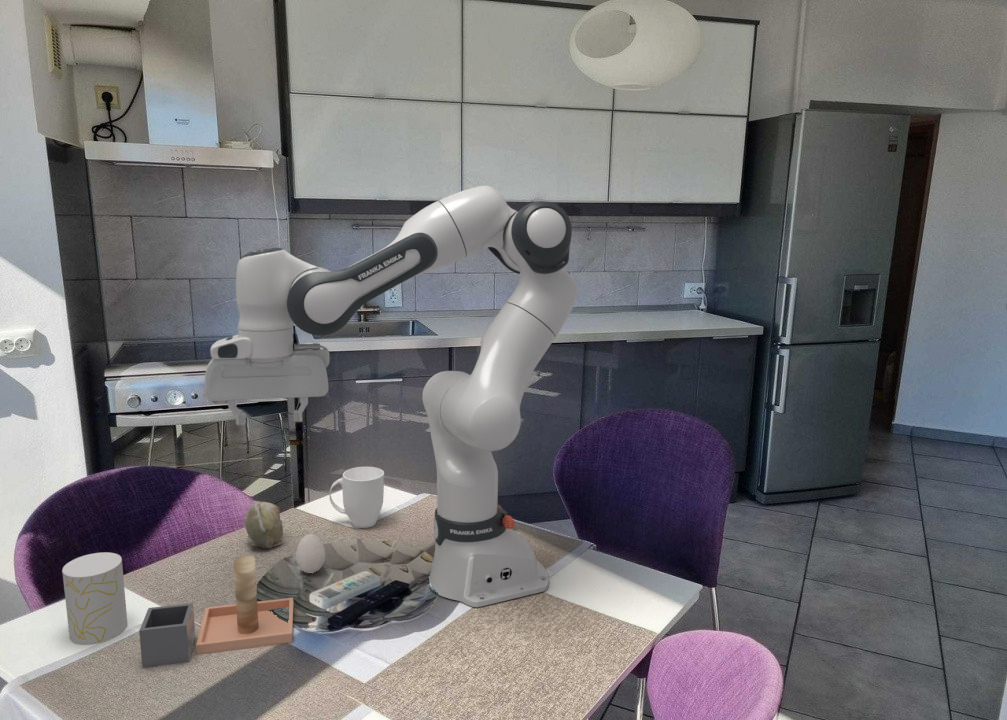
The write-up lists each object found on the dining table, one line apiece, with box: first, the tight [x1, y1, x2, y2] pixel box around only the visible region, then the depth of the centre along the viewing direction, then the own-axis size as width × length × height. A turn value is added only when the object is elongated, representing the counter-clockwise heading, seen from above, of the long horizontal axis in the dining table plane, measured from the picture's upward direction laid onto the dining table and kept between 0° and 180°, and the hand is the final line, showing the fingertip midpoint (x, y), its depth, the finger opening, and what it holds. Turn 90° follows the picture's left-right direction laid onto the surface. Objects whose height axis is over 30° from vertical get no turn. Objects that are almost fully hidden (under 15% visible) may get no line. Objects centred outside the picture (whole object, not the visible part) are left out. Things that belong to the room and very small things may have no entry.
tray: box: [195, 597, 294, 655], centre depth 116 cm, size 14×11×2 cm
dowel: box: [233, 554, 259, 634], centre depth 115 cm, size 3×3×12 cm
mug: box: [329, 466, 385, 529], centre depth 156 cm, size 12×9×12 cm
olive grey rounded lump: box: [244, 500, 284, 549], centre depth 146 cm, size 9×8×10 cm
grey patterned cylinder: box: [61, 551, 129, 646], centre depth 113 cm, size 8×8×12 cm
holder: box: [138, 602, 197, 669], centre depth 109 cm, size 6×6×7 cm
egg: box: [295, 533, 326, 573], centre depth 135 cm, size 5×5×8 cm
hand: (269, 422), depth 124 cm, fingers open, 8 cm apart
